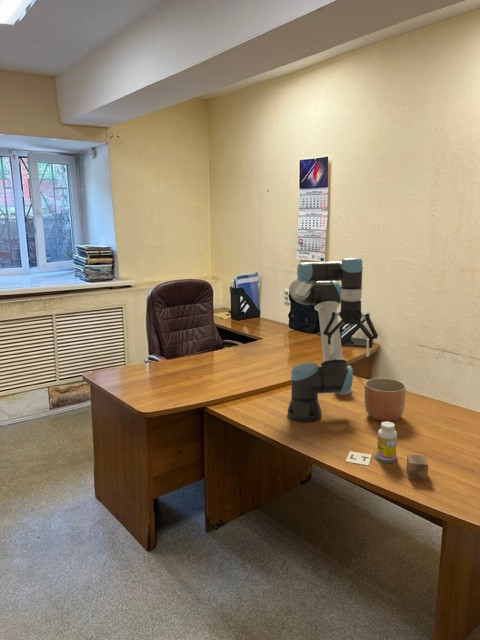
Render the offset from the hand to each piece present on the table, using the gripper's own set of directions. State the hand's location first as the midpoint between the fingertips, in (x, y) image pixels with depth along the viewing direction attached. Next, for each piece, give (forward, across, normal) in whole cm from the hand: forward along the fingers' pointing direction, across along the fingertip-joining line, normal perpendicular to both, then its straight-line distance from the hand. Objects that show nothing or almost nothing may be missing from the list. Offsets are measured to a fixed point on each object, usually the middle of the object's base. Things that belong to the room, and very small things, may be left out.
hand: (349, 354), depth 179 cm
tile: (+35, +7, -15) cm, 38 cm away
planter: (+35, +11, +25) cm, 44 cm away
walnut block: (+35, +27, -20) cm, 48 cm away
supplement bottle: (+34, +16, -11) cm, 40 cm away
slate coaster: (+35, +16, -11) cm, 40 cm away
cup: (+35, -12, +50) cm, 62 cm away
